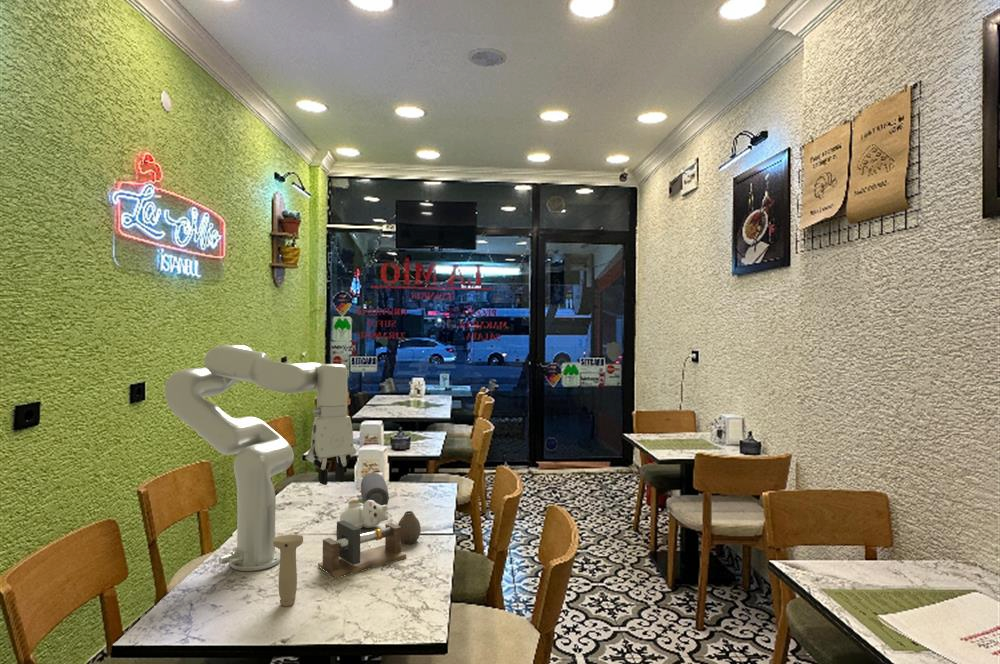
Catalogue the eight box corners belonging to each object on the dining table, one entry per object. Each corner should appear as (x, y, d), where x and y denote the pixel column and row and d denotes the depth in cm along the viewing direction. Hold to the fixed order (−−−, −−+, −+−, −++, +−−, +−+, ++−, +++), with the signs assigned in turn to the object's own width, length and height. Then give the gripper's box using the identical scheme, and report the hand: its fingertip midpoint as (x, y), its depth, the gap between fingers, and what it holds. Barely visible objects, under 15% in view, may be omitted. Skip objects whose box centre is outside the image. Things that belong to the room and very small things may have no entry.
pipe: (335, 553, 156) (335, 541, 156) (329, 550, 158) (329, 539, 158) (394, 537, 168) (394, 527, 168) (388, 534, 170) (389, 524, 170)
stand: (336, 578, 152) (336, 547, 152) (318, 566, 160) (318, 536, 160) (406, 557, 167) (406, 529, 167) (386, 548, 174) (386, 520, 174)
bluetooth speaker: (359, 498, 225) (359, 471, 225) (384, 496, 228) (385, 470, 228) (362, 516, 203) (362, 486, 203) (390, 514, 206) (390, 485, 206)
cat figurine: (337, 499, 190) (385, 492, 192) (341, 506, 197) (387, 499, 199) (338, 530, 185) (387, 523, 187) (342, 536, 192) (390, 529, 194)
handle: (275, 600, 140) (275, 535, 140) (304, 598, 141) (304, 534, 141) (270, 609, 135) (271, 542, 135) (300, 608, 136) (301, 541, 136)
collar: (353, 564, 156) (353, 530, 156) (336, 555, 163) (336, 521, 163) (360, 562, 158) (360, 528, 158) (343, 553, 164) (343, 520, 164)
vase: (415, 546, 176) (416, 516, 175) (393, 544, 177) (393, 514, 177) (423, 538, 182) (424, 509, 182) (401, 536, 184) (402, 508, 184)
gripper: (308, 416, 148) (307, 491, 148) (368, 410, 160) (367, 480, 160) (294, 413, 154) (294, 485, 154) (353, 407, 165) (353, 474, 165)
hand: (331, 481), depth 157 cm, fingers open, 3 cm apart
